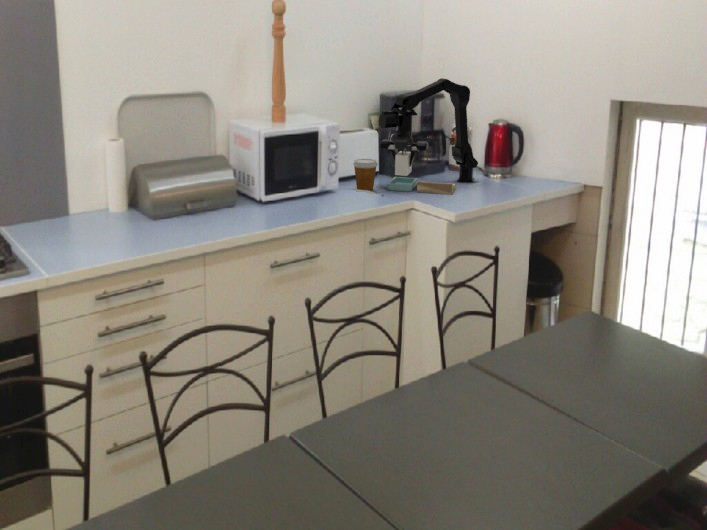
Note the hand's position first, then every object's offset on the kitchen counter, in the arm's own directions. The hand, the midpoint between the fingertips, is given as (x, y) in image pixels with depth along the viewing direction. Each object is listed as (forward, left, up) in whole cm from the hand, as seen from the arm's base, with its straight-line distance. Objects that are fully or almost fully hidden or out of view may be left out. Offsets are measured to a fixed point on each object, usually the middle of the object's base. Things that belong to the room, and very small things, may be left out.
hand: (403, 166), depth 304 cm
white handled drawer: (0, 0, -3) cm, 3 cm away
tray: (0, 0, -9) cm, 9 cm away
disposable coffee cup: (+11, -13, -9) cm, 19 cm away
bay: (+1, +14, -9) cm, 16 cm away
